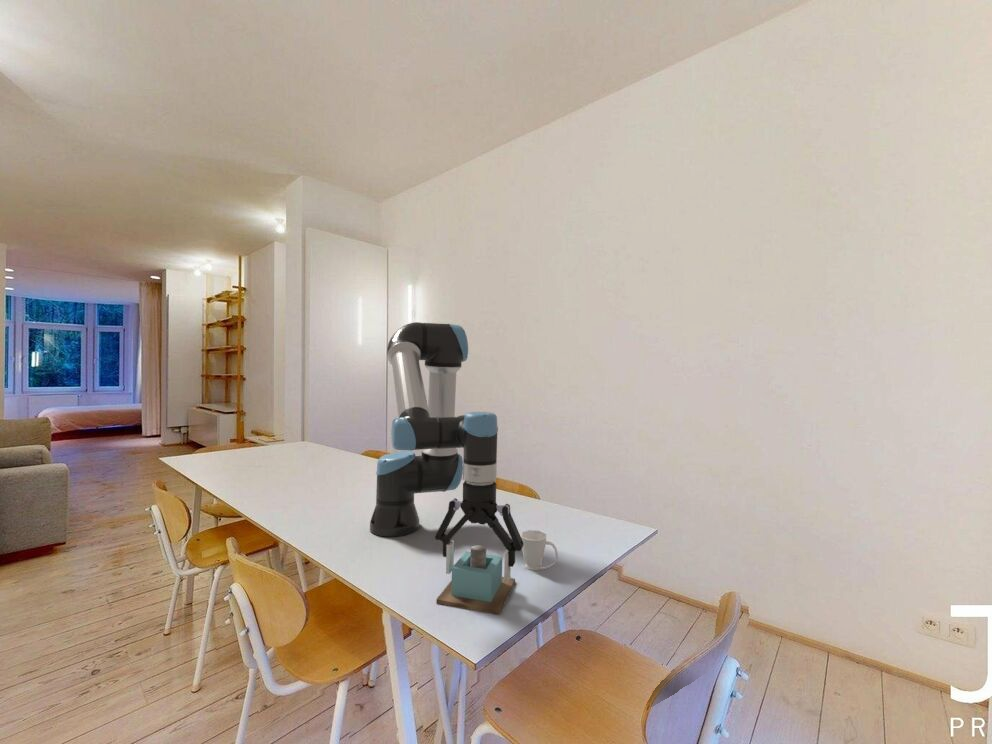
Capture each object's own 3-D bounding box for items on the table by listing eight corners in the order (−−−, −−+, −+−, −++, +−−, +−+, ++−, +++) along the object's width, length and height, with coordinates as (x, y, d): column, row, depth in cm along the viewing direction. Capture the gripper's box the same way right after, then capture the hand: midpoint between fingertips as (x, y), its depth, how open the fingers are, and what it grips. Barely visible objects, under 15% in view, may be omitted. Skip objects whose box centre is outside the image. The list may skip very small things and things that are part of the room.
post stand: (436, 603, 91) (437, 557, 91) (459, 573, 104) (460, 533, 104) (499, 614, 87) (500, 566, 87) (515, 582, 100) (515, 540, 100)
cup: (525, 558, 113) (526, 528, 113) (561, 566, 109) (562, 535, 109) (514, 568, 107) (515, 537, 107) (552, 578, 102) (553, 545, 102)
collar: (451, 595, 92) (451, 567, 92) (465, 576, 101) (465, 551, 101) (491, 602, 90) (491, 574, 90) (501, 582, 98) (502, 556, 98)
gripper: (421, 480, 95) (420, 574, 95) (531, 490, 88) (529, 592, 88) (435, 472, 102) (433, 560, 102) (537, 481, 96) (535, 575, 96)
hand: (478, 575), depth 95 cm, fingers open, 13 cm apart
